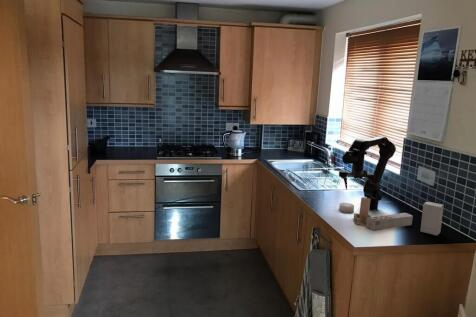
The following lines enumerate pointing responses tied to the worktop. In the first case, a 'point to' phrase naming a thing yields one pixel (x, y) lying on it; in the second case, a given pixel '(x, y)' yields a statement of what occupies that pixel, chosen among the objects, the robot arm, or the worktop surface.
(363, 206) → the brown dome-top cylinder
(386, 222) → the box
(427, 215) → the skincare box
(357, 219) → the tray
